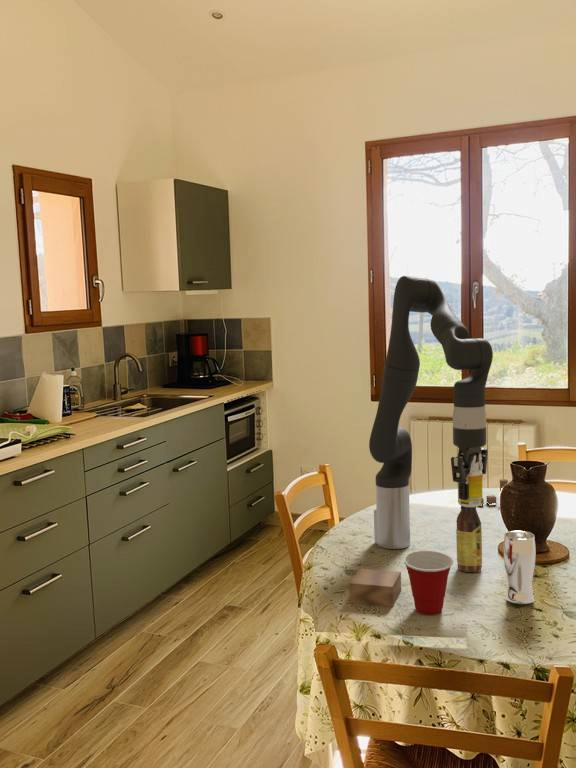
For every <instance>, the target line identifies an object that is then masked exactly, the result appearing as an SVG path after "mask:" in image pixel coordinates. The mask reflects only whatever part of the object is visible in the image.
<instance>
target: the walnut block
mask: <svg viewBox="0 0 576 768" xmlns="http://www.w3.org/2000/svg"><path fill="white" fill-rule="evenodd" d="M348 586H349V604H356V605H366V606H377V607H378V606H379V607H389V608H394V606H395V604H396V602H397V600H398V598H399V597H400V594H401V592H402V571H396V570H395V571H394V570H383V569H382V570H381V569H372V568H368V569H367V568H359V569H358V570H357V571H356V573H355V574H354V576H353V577H352V578H351V580H350V581H349V585H348Z"/></svg>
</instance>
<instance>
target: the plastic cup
mask: <svg viewBox="0 0 576 768" xmlns="http://www.w3.org/2000/svg"><path fill="white" fill-rule="evenodd" d="M402 558H403V563H404V565H405V566H406V570H407V574H408V577H409V583H410V589H411V594H412V598H413V602H414V607H415V611H416V612H417V613H418V614H421V615H426V616H434V615H438V614H441V612H442V611H443V607H444V603H445V597H446V591H447V584H448V578H449V574H450V571H451V567H452V565H454V560H453V558H452V557H451V556H450V555H448V554H446V553H444V552H441V551H437V550H436V551H435V550H425V549H424V550H417V551H411V552H409V553H407V554H405V555H404V556H403V557H402Z"/></svg>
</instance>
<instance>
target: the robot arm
mask: <svg viewBox="0 0 576 768" xmlns="http://www.w3.org/2000/svg"><path fill="white" fill-rule="evenodd" d="M411 312H414V313H423V314H424V313H427V314H429V315H430V316H431V319H430V330H431V333H432V334H433V336H434V337H435V339H436V340H437V341H438V342H439V344H440V345H441V347H442V350H443V353H444V358H445V361H446V364H447V365H448V367H449V368H451V369H453V370H455V371H465V370H466V371H467V370H471V371H470V373H469V375H468V376H467V377H466V378H463V379H459V380H457V381H455V383H454V385H453V410H452V411H453V412H452V444H453V445H454V446H455V447H457V449H458V450H457V456H452V457H451V458H450V463H451V464H450V465H451V475H452V482H454V483H457V485H458V484H459V499H462V500H467V499H469V484H468V483H469V477H470V475H471V474H472V472H473V467H474V463H475V462H479V470H481V471H482V478H483V475H486V474H487V465H488V452H489V451H488V449H487V448H482V447H484V446H486V445H487V413H486V412H487V411H486V386H487V382H488V377H489V373H490V369H491V366H492V362H493V358H494V357H493V356H494V352H493V351H494V350H493V347H492V345H491V343H490V342H489V340H488V339H486V338H471V335H470V334H471V333H470V331H469V330H468V328H467V327H466V326H465V324H463V322H462V321H461V320H460V319H459V318H458V317H457V316H456V314H455V313H454V311H453V310H452V309H451V306H450V304H449V302H448V300H447V298H446V296H445V294H444V291H442V288H441V287H440V285H439V284H438V282H437V281H436V280H434V279H432V278H431V277H423V276H413V275H401V276H400V277H399V278H398V280H397V282H396V284H395V288H394V294H393V303H392V314H391V315H392V316H391V325H390V335H389V340H388V349H387V352H386V357H385V362H384V363H385V364H384V369H383V374H382V375H383V376H382V382H381V383H382V384H381V388H380V389H381V390H380V394H379V400H378V404H377V405H378V406H377V409H376V415H375V418H374V422H373V425H372V429H371V432H370V437H369V441H368V442H369V443H368V445H369V447H368V448H369V453H370V455H371V457H372V458H373V460H374V461H375V462H378V463H380V464H382V466H381V469H380V470H379V471H378V472H377V473H376V475H375V503H376V505H375V509H374V510H373V522H374V523H373V528H374V530H373V531H374V533H373V535H374V544H376V545H377V546H378V547H379V548H382V549H387V550H388V549H389V550H400V549H405V548H408V547H410V545H411V518H410V517H411V515H410V514H411V513H410V478H411V474H412V471H413V470H412V468H413V465H412V463H413V443H412V438H411V436H410V434H409V432H408V430H406V428H404V427H402V426H399V425H400V420H401V417H402V414H403V411H404V409H405V408H406V405H407V404H408V403H409V401H410V399H411V398H412V395H413V393H414V391H415V389H416V386H417V383H418V377H419V374H420V373H419V371H420V365H421V361H420V356H419V353H418V350H417V348H416V346H415V343H414V341H413V338H412V336H411V332H410V328H409V327H410V325H409V324H410V323H409V321H410V320H409V319H410V313H411ZM464 469H468V470H464ZM464 474H466V476H465V475H464Z"/></svg>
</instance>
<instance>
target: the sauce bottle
mask: <svg viewBox="0 0 576 768" xmlns="http://www.w3.org/2000/svg"><path fill="white" fill-rule="evenodd" d="M482 534H483V533H482V522H481V519H480V517H479V513H478V511H477V507H464V506H461V505H460V512H459V513H458V514H457V517H456V534H455V535H456V562H457V569H458V570H459V571H460V572H464V573H473V574H474V573H478V572H480V571H481V570H482V567H483V565H482V564H483V544H482V543H483V542H482V541H483V540H482V539H483V538H482V537H483V535H482Z"/></svg>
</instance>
